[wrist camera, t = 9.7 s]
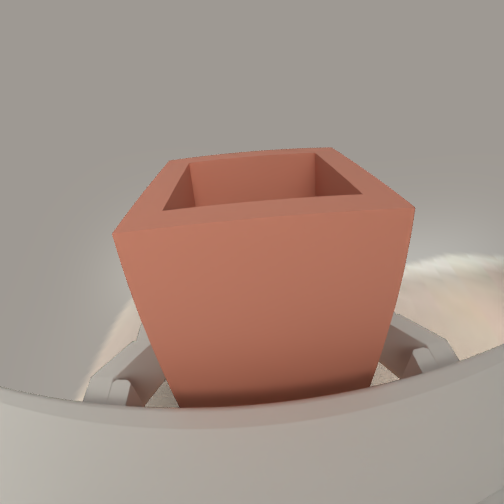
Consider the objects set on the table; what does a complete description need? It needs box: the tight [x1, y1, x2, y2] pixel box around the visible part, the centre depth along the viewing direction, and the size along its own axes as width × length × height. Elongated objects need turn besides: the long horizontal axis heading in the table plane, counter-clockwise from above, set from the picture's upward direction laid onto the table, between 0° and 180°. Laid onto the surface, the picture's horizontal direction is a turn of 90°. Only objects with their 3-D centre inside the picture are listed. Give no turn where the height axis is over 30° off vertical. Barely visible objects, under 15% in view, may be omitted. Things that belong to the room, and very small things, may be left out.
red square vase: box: [112, 148, 415, 408], centre depth 11 cm, size 6×6×12 cm
